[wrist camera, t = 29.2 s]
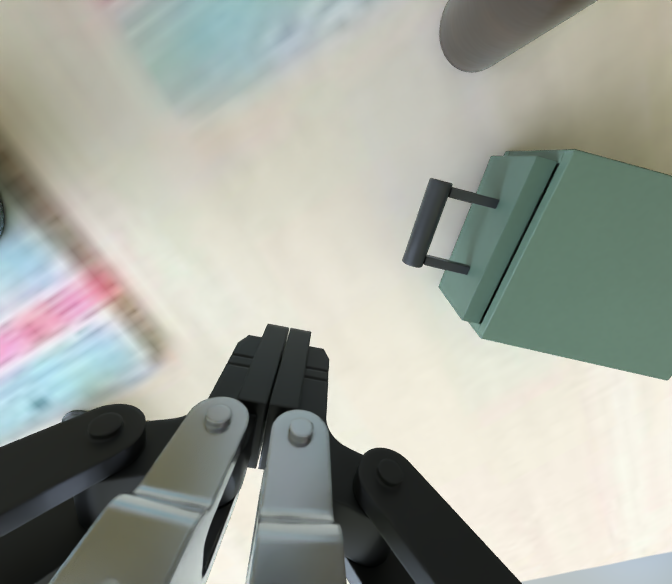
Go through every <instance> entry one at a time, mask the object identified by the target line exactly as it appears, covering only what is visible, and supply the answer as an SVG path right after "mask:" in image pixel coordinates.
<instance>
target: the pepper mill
mask: <svg viewBox="0 0 672 584" xmlns="http://www.w3.org/2000/svg"><path fill="white" fill-rule="evenodd" d="M596 1H598V0H449V1H448V2H447V4H446V6H445V9H444V11H443V14H442V18H441V22H440V32H439V33H440V43H441V47H442V50H443V53H444V55H445V57H446V58H447V60H448V61H449V62H450V63H451V64H452V65H453V66H454V67H456V68H457V69H459V70H461V71H465V72H478V71H482V70H485V69H487V68H489V67H491V66H493V65H494V64H496V63H497V62H499V61H501V60H502V59H504V58H505V57H507V56H509V55H510V54H512V53H514V52H515V51H517V50H518V49H520V48H522V47H523V46H525V45H527V44H528V43H530V42H531V41H533V40H535V39H536V38H538V37H539V36H541V35H543V34H544V33H546V32H548V31H549V30H551V29H552V28H554V27H556V26H557V25H559V24H561V23H562V22H564V21H565V20H567V19H569V18H570V17H572V16H573V15H575V14H577V13H578V12H580V11H582V10H583V9H585V8H586V7H588V6H590V5H591V4H593V3H595V2H596Z"/></svg>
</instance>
